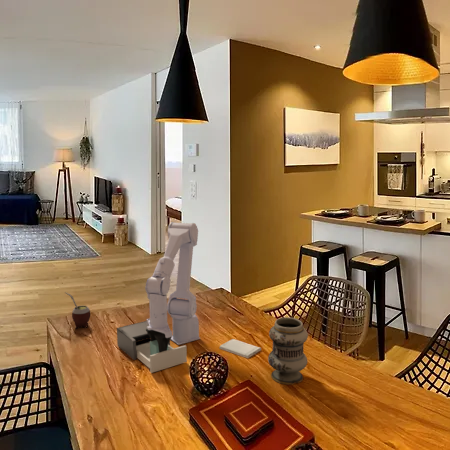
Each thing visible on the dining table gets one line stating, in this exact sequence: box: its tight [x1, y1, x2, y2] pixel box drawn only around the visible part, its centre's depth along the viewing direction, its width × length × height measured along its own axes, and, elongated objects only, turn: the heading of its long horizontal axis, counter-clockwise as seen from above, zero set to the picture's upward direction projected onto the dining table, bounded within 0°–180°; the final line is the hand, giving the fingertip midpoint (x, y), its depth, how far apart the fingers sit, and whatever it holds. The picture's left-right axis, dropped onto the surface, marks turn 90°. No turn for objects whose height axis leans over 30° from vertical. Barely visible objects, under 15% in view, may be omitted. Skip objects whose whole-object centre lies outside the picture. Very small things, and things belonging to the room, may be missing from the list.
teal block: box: [149, 340, 168, 355], centre depth 149 cm, size 4×4×4 cm
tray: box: [136, 341, 188, 374], centre depth 151 cm, size 13×17×6 cm
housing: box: [116, 320, 171, 361], centre depth 159 cm, size 14×14×7 cm
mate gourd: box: [64, 291, 91, 330], centre depth 178 cm, size 8×8×15 cm
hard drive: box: [219, 338, 262, 359], centre depth 158 cm, size 2×8×12 cm
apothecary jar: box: [267, 316, 309, 386], centre depth 137 cm, size 12×12×18 cm
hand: (159, 350), depth 149 cm, fingers closed on teal block, 4 cm apart
